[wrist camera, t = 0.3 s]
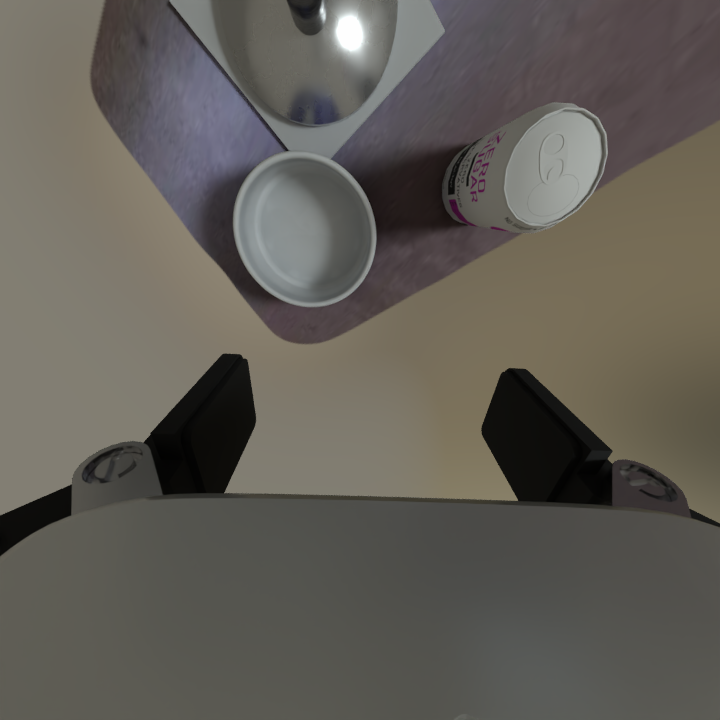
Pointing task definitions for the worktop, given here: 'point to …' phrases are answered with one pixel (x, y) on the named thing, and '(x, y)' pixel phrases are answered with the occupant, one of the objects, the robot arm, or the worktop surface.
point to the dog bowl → (304, 229)
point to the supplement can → (528, 171)
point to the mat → (410, 45)
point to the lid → (311, 53)
